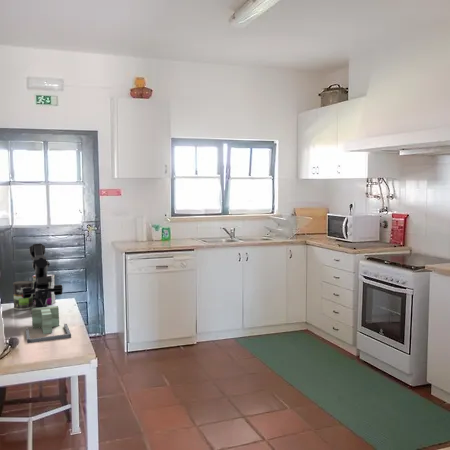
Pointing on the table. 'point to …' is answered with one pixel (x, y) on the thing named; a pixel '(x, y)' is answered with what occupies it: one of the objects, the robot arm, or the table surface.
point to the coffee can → (19, 301)
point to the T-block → (45, 318)
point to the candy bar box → (51, 285)
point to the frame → (48, 336)
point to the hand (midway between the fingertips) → (44, 305)
